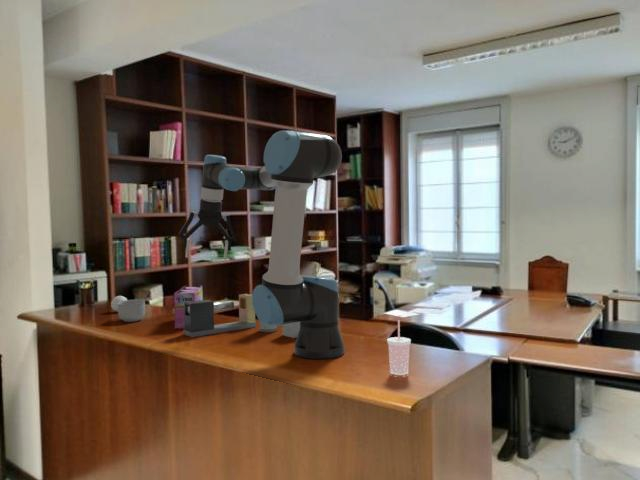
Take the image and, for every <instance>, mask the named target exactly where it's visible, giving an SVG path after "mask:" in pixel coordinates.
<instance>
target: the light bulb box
mask: <svg viewBox="0 0 640 480" xmlns="http://www.w3.org/2000/svg"><path fill="white" fill-rule="evenodd" d="M281 327H282V329H281V330H282V336H284V337H288V338H291V339H292V338H293V339H295V338H296V339H297V336H298V333H299V329H300V322H295V323H289V324H283V325H281Z"/></svg>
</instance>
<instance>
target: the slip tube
mask: <svg viewBox="0 0 640 480" xmlns="http://www.w3.org/2000/svg"><path fill="white" fill-rule="evenodd" d="M234 308H235V302H234V301H233V300H227V301H217V302H214V312H217V311H225V310H233V309H234ZM187 313H188V314H190V308H189V306H187Z"/></svg>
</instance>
